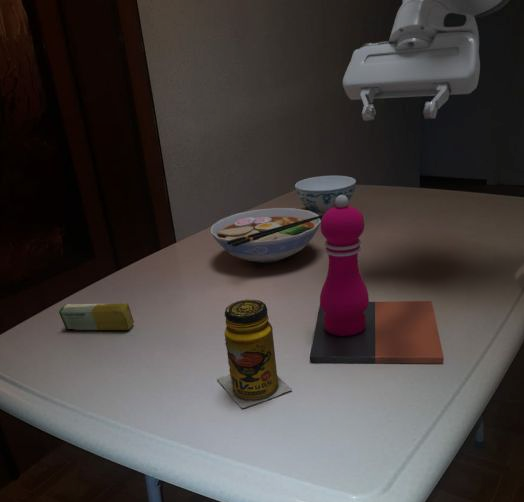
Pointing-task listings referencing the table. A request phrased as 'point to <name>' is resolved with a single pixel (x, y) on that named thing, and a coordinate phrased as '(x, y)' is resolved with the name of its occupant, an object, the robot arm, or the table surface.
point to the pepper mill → (343, 271)
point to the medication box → (97, 316)
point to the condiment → (250, 354)
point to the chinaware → (324, 191)
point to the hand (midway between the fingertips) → (397, 117)
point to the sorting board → (383, 336)
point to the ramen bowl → (266, 233)
